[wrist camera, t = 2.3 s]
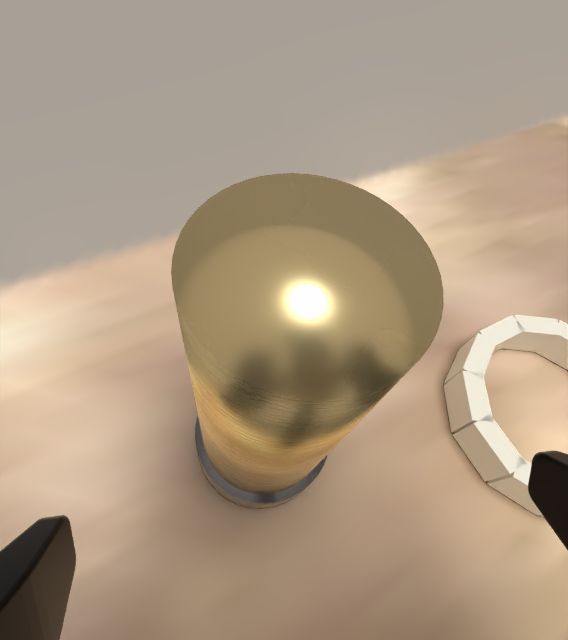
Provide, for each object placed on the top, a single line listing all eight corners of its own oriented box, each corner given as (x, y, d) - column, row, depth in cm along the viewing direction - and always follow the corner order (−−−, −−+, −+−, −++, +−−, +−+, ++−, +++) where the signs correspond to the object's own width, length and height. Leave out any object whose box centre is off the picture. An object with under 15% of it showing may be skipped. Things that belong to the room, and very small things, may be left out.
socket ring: (638, 393, 22) (672, 380, 21) (613, 564, 18) (654, 564, 16) (478, 305, 24) (497, 286, 22) (418, 440, 20) (436, 429, 18)
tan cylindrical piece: (331, 498, 18) (507, 398, 7) (200, 517, 17) (150, 435, 6) (309, 378, 20) (409, 164, 9) (195, 388, 20) (155, 163, 8)
